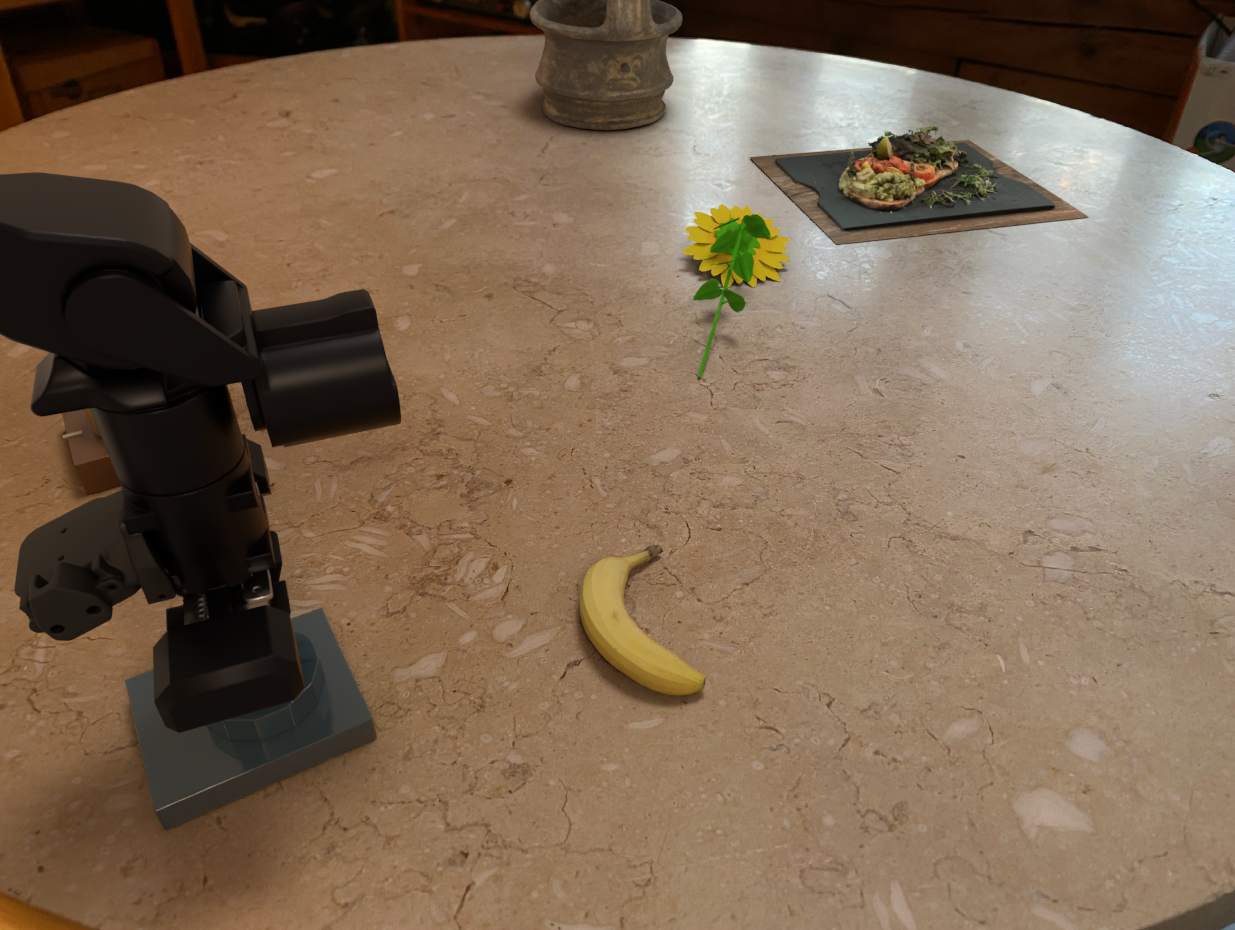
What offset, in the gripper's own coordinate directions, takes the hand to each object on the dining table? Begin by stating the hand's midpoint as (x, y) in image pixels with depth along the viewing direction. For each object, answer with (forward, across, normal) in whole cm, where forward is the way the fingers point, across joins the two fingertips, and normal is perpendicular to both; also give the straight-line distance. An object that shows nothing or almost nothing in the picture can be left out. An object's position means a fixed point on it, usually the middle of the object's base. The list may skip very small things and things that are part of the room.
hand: (254, 667), depth 54 cm
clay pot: (+4, -96, +59) cm, 113 cm away
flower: (+4, -37, +51) cm, 63 cm away
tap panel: (+4, -31, -7) cm, 32 cm away
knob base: (+4, 0, -1) cm, 4 cm away
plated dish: (+4, -56, +86) cm, 103 cm away
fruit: (+4, +1, +24) cm, 24 cm away
